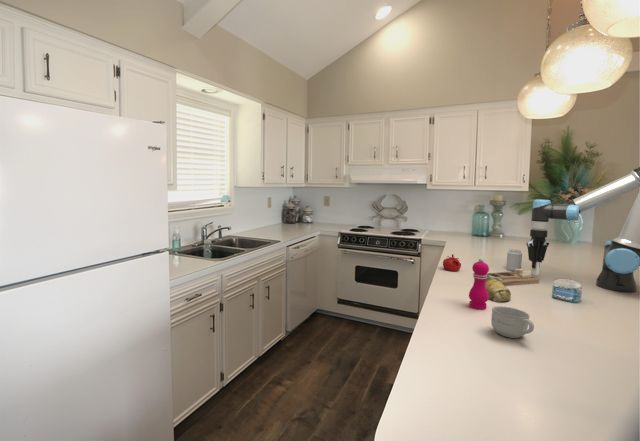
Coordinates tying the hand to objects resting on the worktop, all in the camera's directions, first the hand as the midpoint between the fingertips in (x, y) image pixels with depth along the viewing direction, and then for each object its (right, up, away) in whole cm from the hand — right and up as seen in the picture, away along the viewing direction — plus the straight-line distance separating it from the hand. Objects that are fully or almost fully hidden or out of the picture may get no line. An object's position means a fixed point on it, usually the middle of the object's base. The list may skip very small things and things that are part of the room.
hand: (534, 274), depth 179 cm
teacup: (-50, -10, -68) cm, 85 cm away
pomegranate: (-36, -1, +19) cm, 41 cm away
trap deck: (-15, -3, -1) cm, 16 cm away
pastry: (-36, -6, -29) cm, 46 cm away
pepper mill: (-49, -7, -41) cm, 65 cm away
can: (+1, -1, +22) cm, 22 cm away
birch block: (-8, -2, -2) cm, 8 cm away
